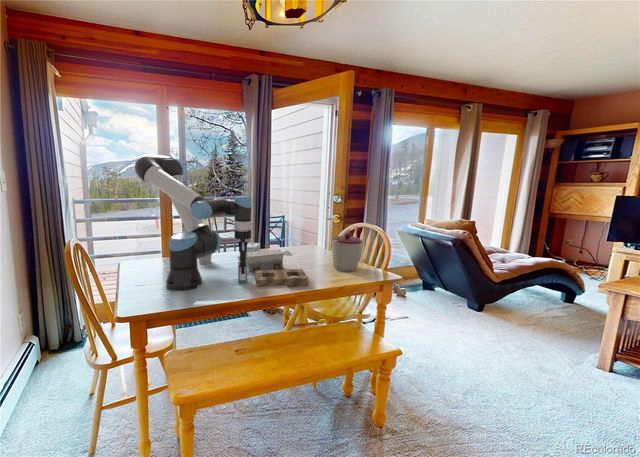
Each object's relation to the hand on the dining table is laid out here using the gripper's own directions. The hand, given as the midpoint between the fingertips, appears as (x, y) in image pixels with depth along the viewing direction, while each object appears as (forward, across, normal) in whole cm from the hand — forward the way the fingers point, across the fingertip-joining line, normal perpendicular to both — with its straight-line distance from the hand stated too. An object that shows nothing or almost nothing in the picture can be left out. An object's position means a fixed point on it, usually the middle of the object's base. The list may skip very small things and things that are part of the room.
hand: (242, 278), depth 153 cm
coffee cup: (+3, +37, +20) cm, 42 cm away
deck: (+3, 0, 0) cm, 3 cm away
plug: (+2, 0, 0) cm, 2 cm away
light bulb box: (+3, +34, -6) cm, 35 cm away
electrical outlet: (+3, +20, -12) cm, 23 cm away
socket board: (+3, 0, -18) cm, 18 cm away
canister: (+3, +17, -57) cm, 60 cm away
